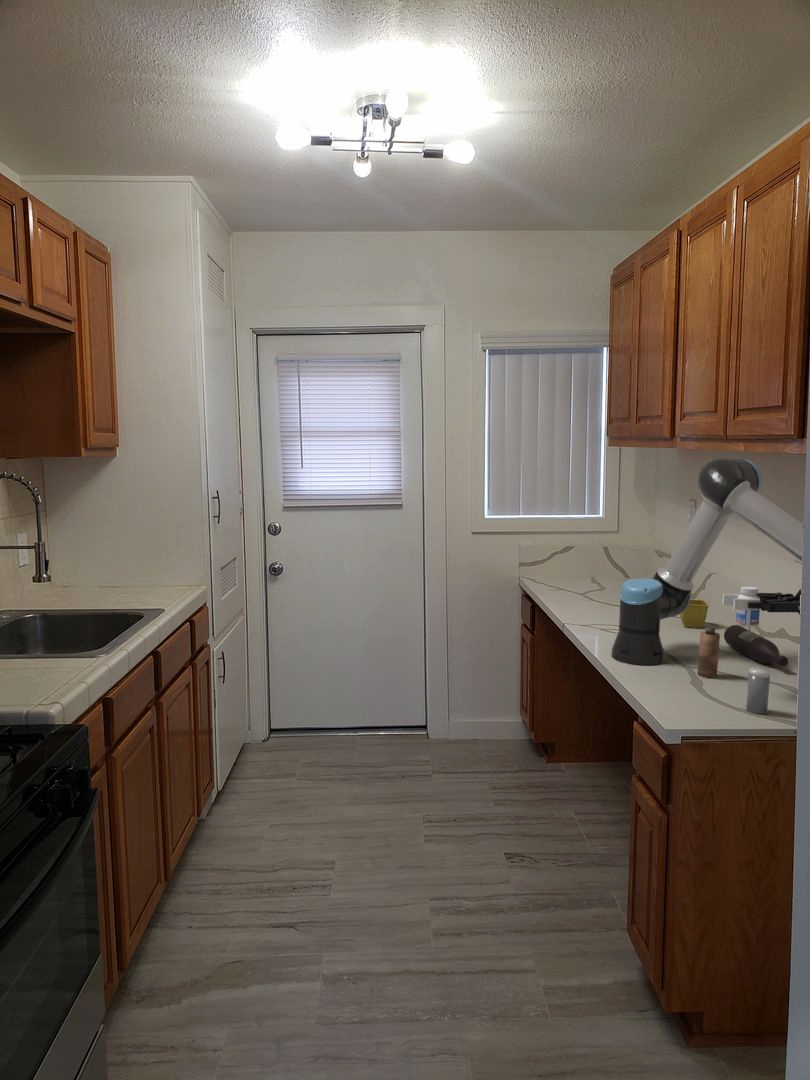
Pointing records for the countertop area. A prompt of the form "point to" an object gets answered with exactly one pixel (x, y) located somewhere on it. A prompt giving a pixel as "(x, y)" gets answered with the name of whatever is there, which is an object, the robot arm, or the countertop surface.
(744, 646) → the wine bottle
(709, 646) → the walnut pepper mill
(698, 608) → the flower pot
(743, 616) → the pill bottle
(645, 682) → the countertop surface
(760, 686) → the charcoal salt shaker
